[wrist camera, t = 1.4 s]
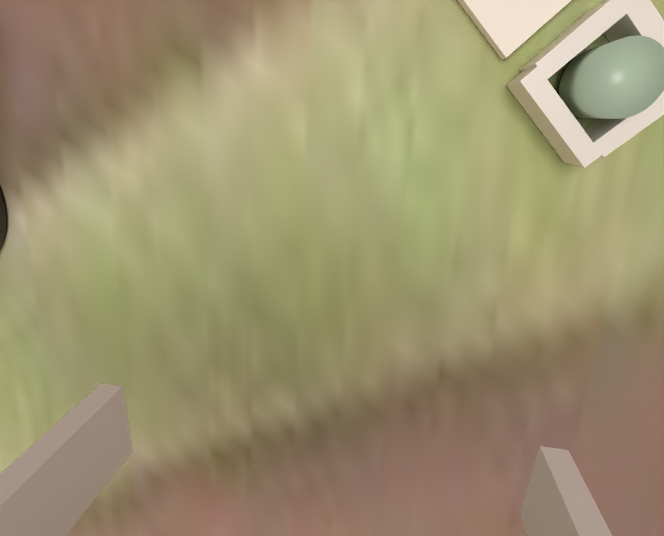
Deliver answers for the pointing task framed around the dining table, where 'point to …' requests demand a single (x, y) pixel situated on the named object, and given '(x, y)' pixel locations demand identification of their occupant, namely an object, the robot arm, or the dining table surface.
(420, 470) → the dining table surface
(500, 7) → the board
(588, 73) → the button
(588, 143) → the button housing
